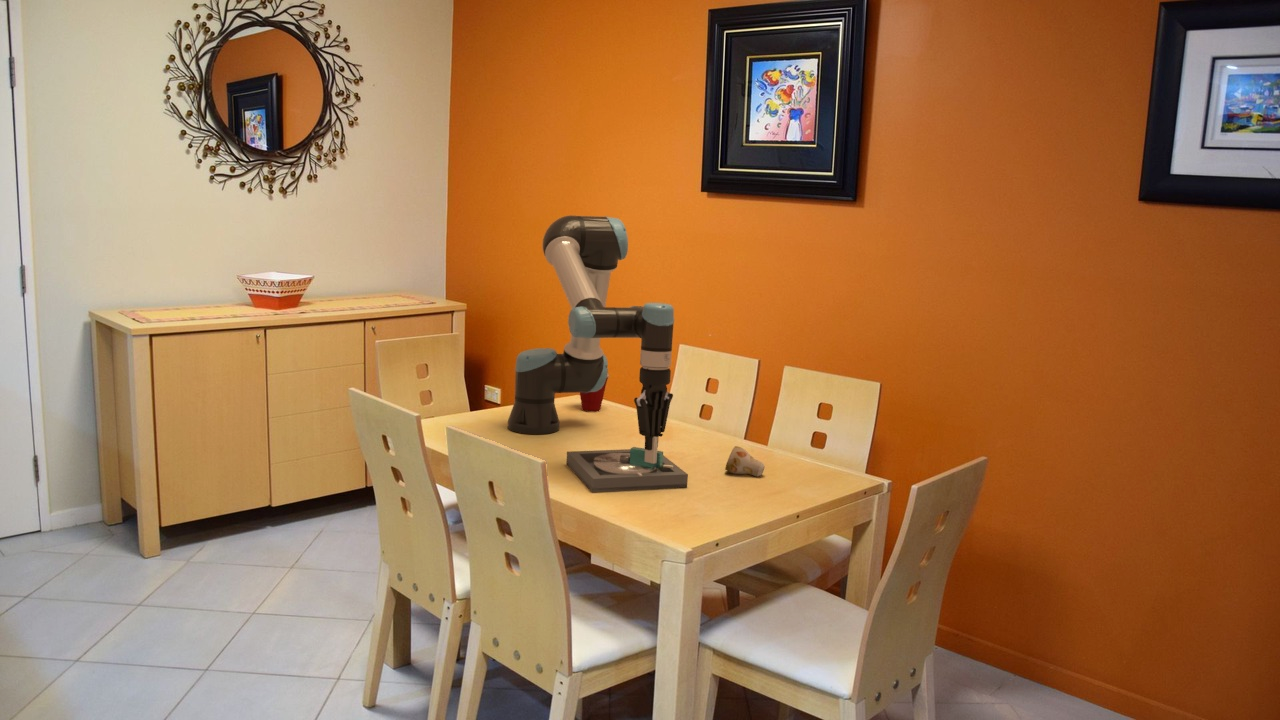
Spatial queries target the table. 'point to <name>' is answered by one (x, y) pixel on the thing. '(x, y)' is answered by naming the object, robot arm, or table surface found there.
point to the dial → (626, 463)
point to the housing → (663, 479)
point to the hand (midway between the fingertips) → (650, 462)
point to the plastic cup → (593, 399)
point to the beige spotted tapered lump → (743, 463)
